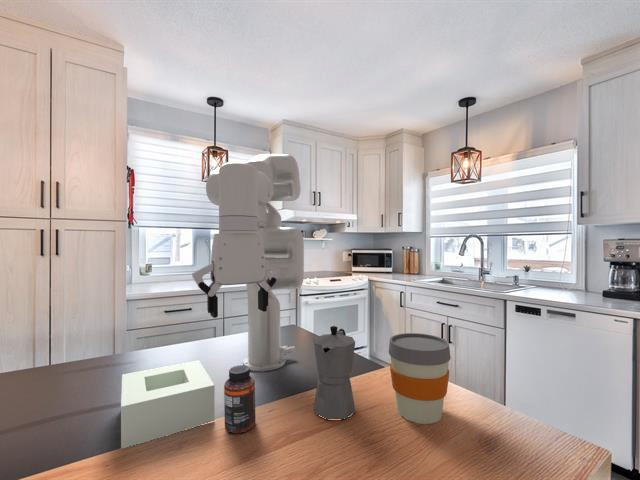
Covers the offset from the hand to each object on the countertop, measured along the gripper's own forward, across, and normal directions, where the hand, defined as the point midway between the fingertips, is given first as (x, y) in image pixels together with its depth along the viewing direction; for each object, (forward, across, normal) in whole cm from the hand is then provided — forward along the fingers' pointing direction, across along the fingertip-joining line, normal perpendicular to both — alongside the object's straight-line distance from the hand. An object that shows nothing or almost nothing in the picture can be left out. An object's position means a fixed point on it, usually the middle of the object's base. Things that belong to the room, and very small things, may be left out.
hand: (239, 313), depth 63 cm
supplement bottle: (+22, 0, 0) cm, 23 cm away
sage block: (+22, +12, -12) cm, 28 cm away
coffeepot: (+22, -20, +4) cm, 30 cm away
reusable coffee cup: (+22, -34, +15) cm, 43 cm away
